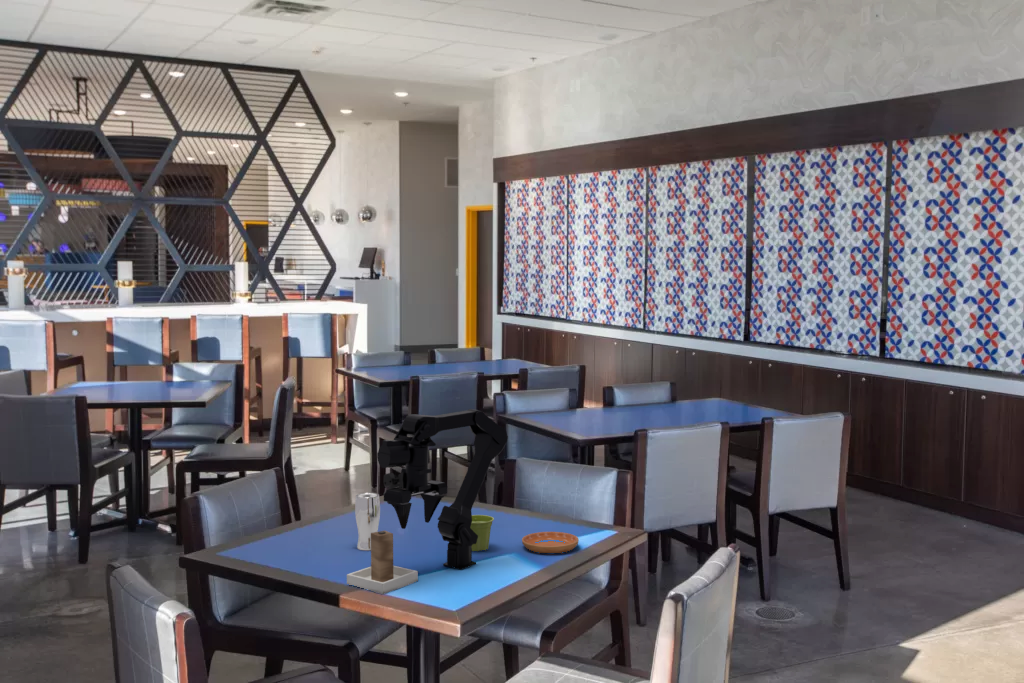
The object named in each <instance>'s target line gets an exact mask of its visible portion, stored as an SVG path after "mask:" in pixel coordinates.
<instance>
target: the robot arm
mask: <svg viewBox="0 0 1024 683" xmlns="http://www.w3.org/2000/svg"><path fill="white" fill-rule="evenodd" d="M465 427H469V429H470V430H469V431H470V432H471V433H473V435H474V436H475V438H474V441H473V445H474V455H473V457H472V460H471V462H470V464H469V467H468V469H467V470H466V474H465V477H464V478H463V480H462V483H461V485H460V488H459V490H458V492H457V495H456V497H455V499H454V501H453V503H451V504H450V505H449V506H448V505H444V506H443V507H442V509H441V513H440V515H439V517H438V518H437V521H438V523H437V529H438V532H439V534H440V535H441V537H442V540H443V541H445V542H448V543H447V550H446V562H444V563H442V564H443V566H444V567H448V568H453V569H457V570H464V569H466V568H470V567H473V566H475V565H477V561H474V560H473V561H472V559H473V558H472V557H473V555H472V554H473V553H472V552H473V551H472V545H473V544H476V543H477V539H478V535H477V534H476V533H475V532H474V531H473V530H472V529H471V528H470V527H471V523H472V515H473V514H472V509H473V507H474V504H475V501H476V498H477V497H478V494H479V492H480V489H481V487H482V485H483V482H484V481H485V477H486V475H487V473H488V470H489V468H490V466H491V463H492V461H493V459H495V458H496V457H497V456H498V455H500V453H501V452H503V449H504V448H505V446H506V444H507V442H508V439H509V436H508V434H507V431H506V429H505V428H504V427H502V426H500V425H499V424H498V423H496V422H495V421H494V420H492V419H491V418H489V416H487V415H486V414H485V413H484V412H483V411H482V410H478V409H472V408H469V409H467V410H461V411H456V412H455V411H454V412H449V413H442V414H437V415H429V414H428V415H427V414H415V413H414V414H413V413H412V414H411V413H410V414H408V415H406V416H405V418H404V420H403V423H402V425H401V426H400V428H399V429H398V431H397V433H396V435H395V436H394V438H393V439H392V440H390V439H384V440H382V445H380V447H379V449H378V451H377V454H376V456H377V457H376V458H377V462H378V464H379V466H380V467H381V468H382V469H388V468H397V467H401V471H400V474H394V473H393V472H388V473H385V474H384V475H383V485H384V487H388V489H386V490H385V491H384V492H383V501H384V502H387V504H388V505H390V506H392V507H393V508H394V511H395V512H396V517H397V519H398V521H399V525H400V528H401V529H403V530H405V529H406V527H407V526H408V521H409V516H410V513H411V508H412V504H413V503H412V502H410V501H411V500H412V497H415V496H421V498H422V500H423V508H424V509H423V512H424V522H425V523H430V521H431V520H432V517H433V515H434V513H435V511H436V510H437V508H438V506H439V504H440V502H441V500H443V499H444V497H445V495H446V494H448V485H447V484H446V482H444V481H443V482H442V481H438V480H429V474H431V473H432V468H430V467H429V449H430V447H435V446H436V445H437V443H436V442H435V441H434V440H433V439H432V437H434V436H436V435H437V434H439V432H442V431H448V430H454V429H459V428H465Z"/></svg>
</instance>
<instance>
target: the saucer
mask: <svg viewBox="0 0 1024 683" xmlns="http://www.w3.org/2000/svg"><path fill="white" fill-rule="evenodd" d="M579 539H580V538H579V537H578V536H576V535H574V534H572V533H569V532H568V533H567V532H562V531H540V532H534V533H533V532H532V533H529V534H527V535H524V536H523V537H522V538H521V541H522V545H523V546H524V547H525V548H526V549H527V550H528V549H529V551H530V550H531V551H530V552H532V551H534V552H533V553H535V552H539V553H538V554H540V553H561V554H563V553H562V552H566V553H568V552H567V551H569V552H571V551H572V550H573V549H574V548H576V547H577V546H578V544H579ZM541 540H542V541H543V540H559V541H563V542H556V541H555V542H554V541H548V542H539V541H541ZM535 542H539V543H535ZM564 542H565V543H564ZM570 550H571V551H570Z"/></svg>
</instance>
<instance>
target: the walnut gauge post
mask: <svg viewBox="0 0 1024 683" xmlns="http://www.w3.org/2000/svg"><path fill="white" fill-rule="evenodd" d="M370 563H371V564H370V567H371V580H375V581H379V582H386V581H388V580H391V579H394V574H393V565H394V533H392V532H390V531H389V530H378V532H374V533H371V550H370Z"/></svg>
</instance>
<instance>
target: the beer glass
mask: <svg viewBox="0 0 1024 683" xmlns="http://www.w3.org/2000/svg"><path fill="white" fill-rule="evenodd" d="M354 503H355V504H354V505H355V506H354V513H355V522H356V525H357V526H356V527H357V532H358V534H357V535H358V541H357V545H356V546H357V547H356V548H357V549H358V550H360V551H371V533H374V532H379V524H380V516H381V503H380V494H379V493H376V492H362V493H358V494H356V495H355V502H354Z"/></svg>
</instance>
